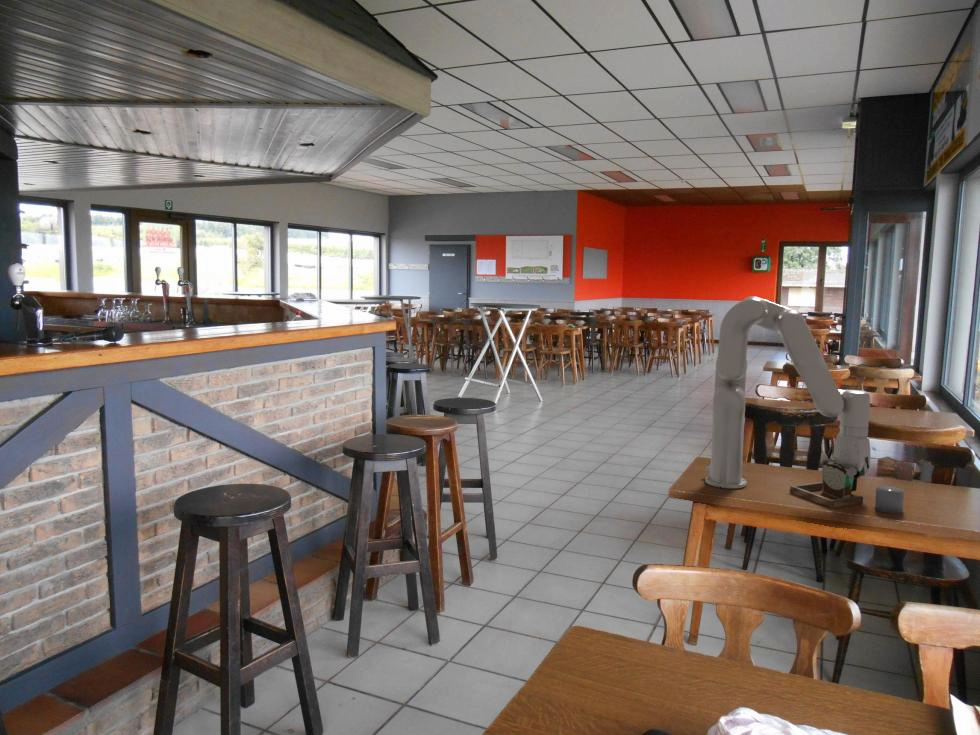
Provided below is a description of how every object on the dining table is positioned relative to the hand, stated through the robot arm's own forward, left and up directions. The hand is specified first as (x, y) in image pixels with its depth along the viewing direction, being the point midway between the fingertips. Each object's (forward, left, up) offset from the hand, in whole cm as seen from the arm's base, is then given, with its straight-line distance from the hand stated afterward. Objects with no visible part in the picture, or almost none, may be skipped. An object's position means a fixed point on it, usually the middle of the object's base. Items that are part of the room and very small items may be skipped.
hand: (850, 490), depth 221 cm
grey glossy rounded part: (+15, -2, -1) cm, 15 cm away
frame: (0, -10, -1) cm, 10 cm away
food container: (0, -4, -1) cm, 4 cm away
